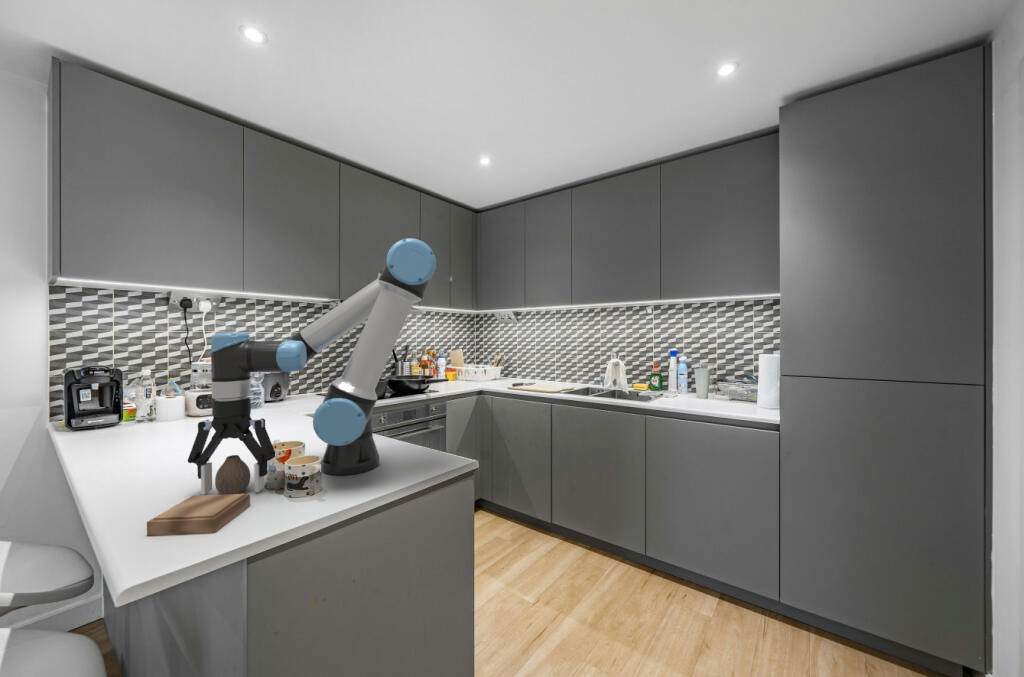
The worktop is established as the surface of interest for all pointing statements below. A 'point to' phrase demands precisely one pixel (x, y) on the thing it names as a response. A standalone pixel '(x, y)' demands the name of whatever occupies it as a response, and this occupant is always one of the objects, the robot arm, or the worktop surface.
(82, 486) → the worktop surface
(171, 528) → the tray
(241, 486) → the vase
